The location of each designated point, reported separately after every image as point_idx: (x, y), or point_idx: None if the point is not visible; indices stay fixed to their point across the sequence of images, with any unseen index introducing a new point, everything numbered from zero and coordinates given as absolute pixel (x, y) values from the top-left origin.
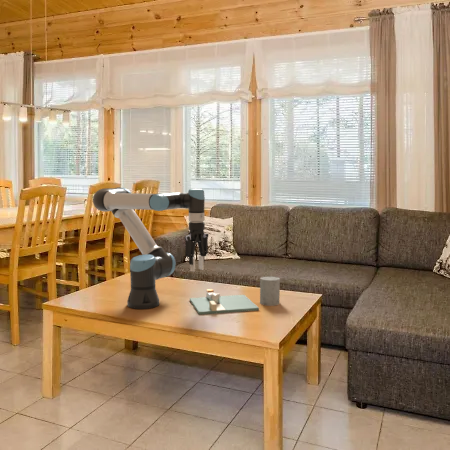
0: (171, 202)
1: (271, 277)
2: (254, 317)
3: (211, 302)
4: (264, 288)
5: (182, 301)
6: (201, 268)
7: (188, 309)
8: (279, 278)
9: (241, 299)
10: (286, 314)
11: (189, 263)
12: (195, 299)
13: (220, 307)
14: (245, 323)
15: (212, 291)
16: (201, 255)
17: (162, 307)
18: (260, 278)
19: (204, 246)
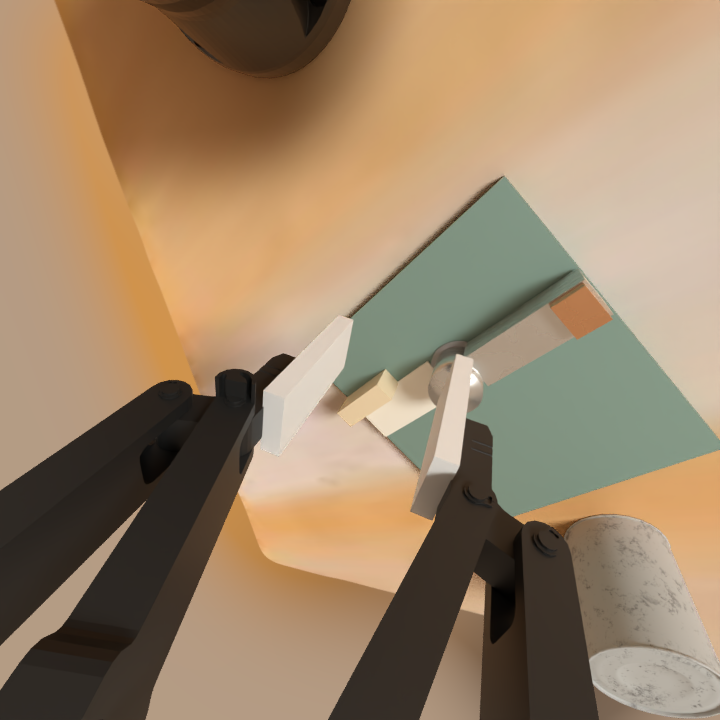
0: None
1: (693, 691)
2: (392, 514)
3: (362, 400)
4: (581, 606)
5: (463, 141)
6: (440, 395)
7: (345, 275)
8: (671, 713)
9: (591, 455)
10: (471, 584)
11: (273, 362)
12: (489, 232)
13: (403, 412)
14: (327, 500)
15: (570, 330)
16: (444, 498)
17: (295, 120)
18: (625, 648)
19: (499, 705)
